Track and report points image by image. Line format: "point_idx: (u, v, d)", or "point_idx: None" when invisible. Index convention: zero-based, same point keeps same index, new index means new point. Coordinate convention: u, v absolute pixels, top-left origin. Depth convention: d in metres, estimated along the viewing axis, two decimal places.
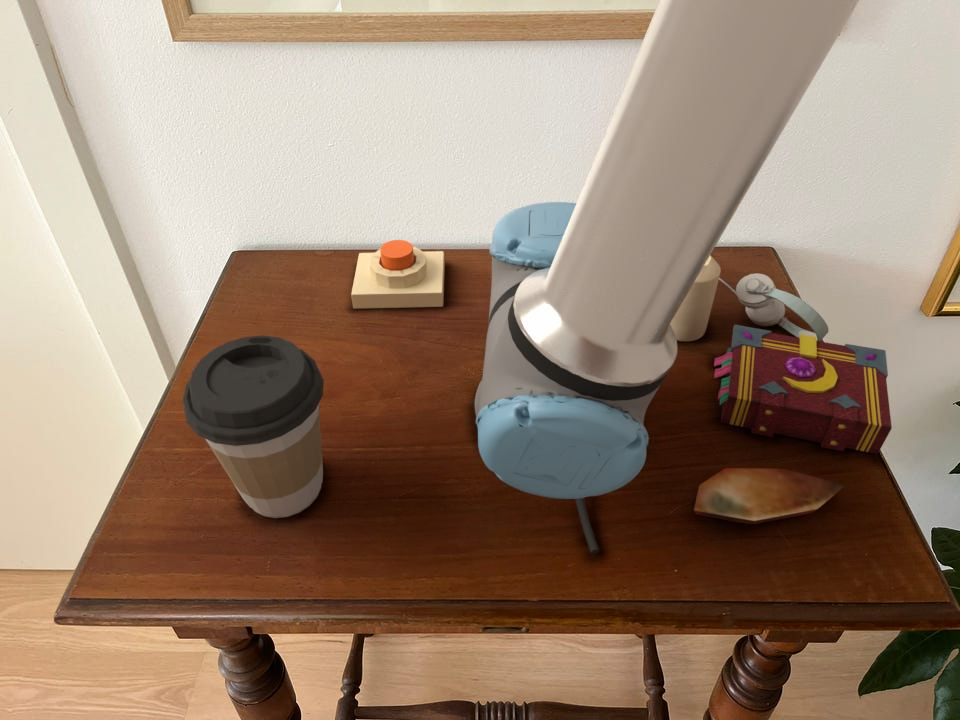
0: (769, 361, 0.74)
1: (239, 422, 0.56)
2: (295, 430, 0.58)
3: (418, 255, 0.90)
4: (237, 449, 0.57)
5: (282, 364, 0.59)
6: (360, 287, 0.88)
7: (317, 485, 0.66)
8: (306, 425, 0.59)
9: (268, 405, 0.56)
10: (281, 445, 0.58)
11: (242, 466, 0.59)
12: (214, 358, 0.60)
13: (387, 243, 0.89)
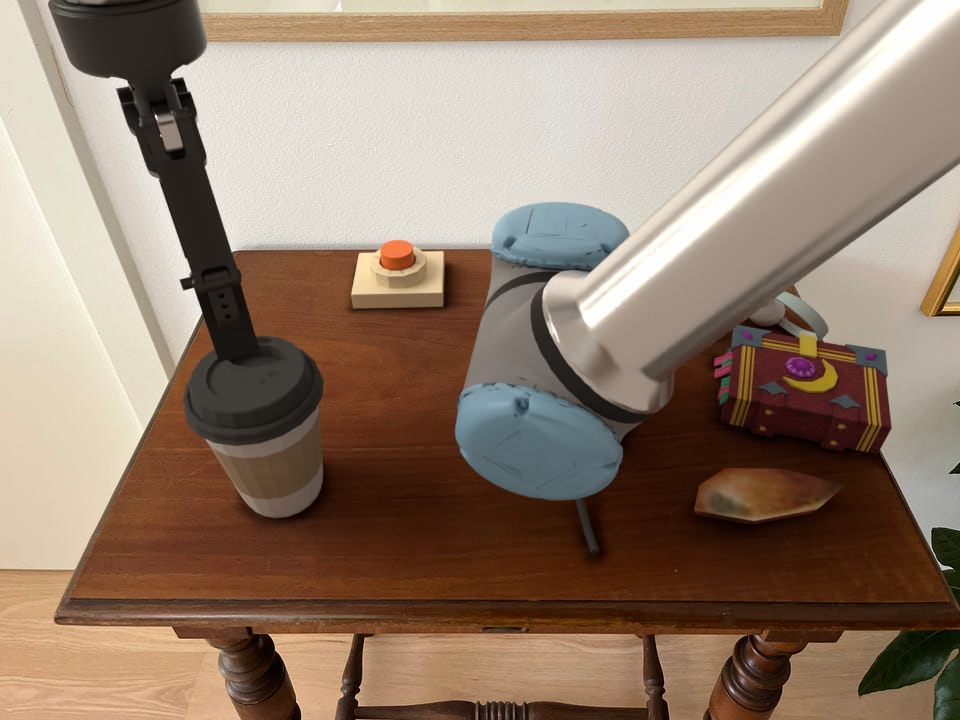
0: (769, 361, 0.74)
1: (239, 422, 0.56)
2: (295, 430, 0.58)
3: (418, 255, 0.90)
4: (237, 449, 0.57)
5: (282, 364, 0.59)
6: (360, 287, 0.88)
7: (317, 485, 0.66)
8: (306, 425, 0.59)
9: (268, 405, 0.56)
10: (281, 445, 0.58)
11: (242, 466, 0.59)
12: (214, 358, 0.60)
13: (387, 243, 0.89)
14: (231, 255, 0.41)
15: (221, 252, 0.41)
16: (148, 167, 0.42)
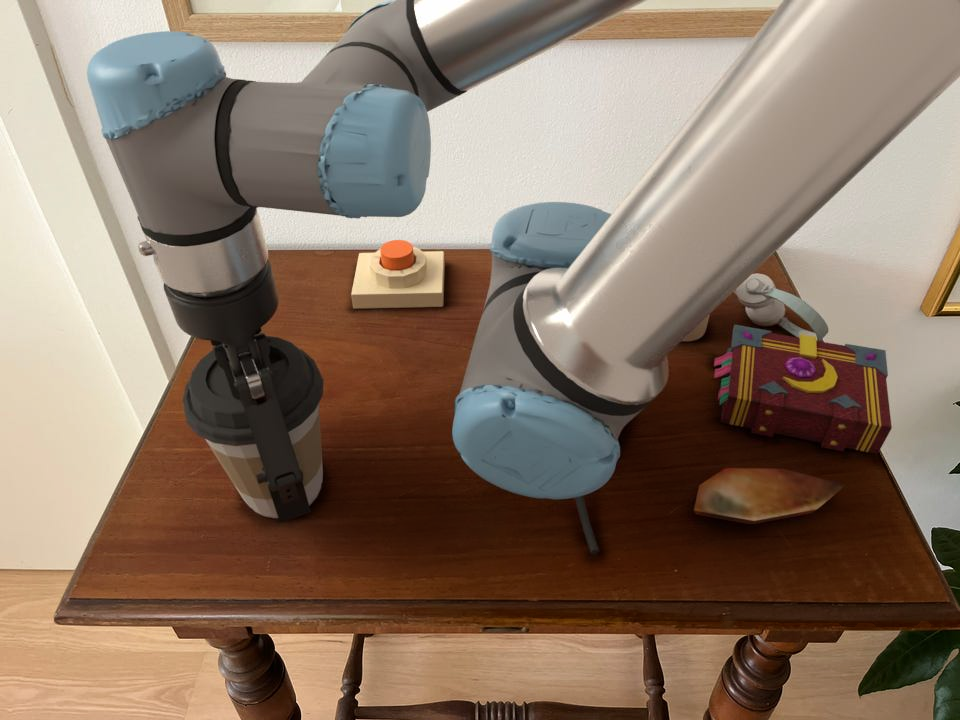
0: (769, 361, 0.74)
1: (239, 422, 0.56)
2: (294, 430, 0.58)
3: (418, 255, 0.90)
4: (237, 449, 0.57)
5: (282, 364, 0.59)
6: (360, 287, 0.88)
7: (317, 485, 0.66)
8: (306, 425, 0.59)
9: None
10: None
11: (242, 467, 0.59)
12: (214, 358, 0.60)
13: (387, 243, 0.89)
14: (297, 464, 0.55)
15: (289, 462, 0.55)
16: (234, 396, 0.55)
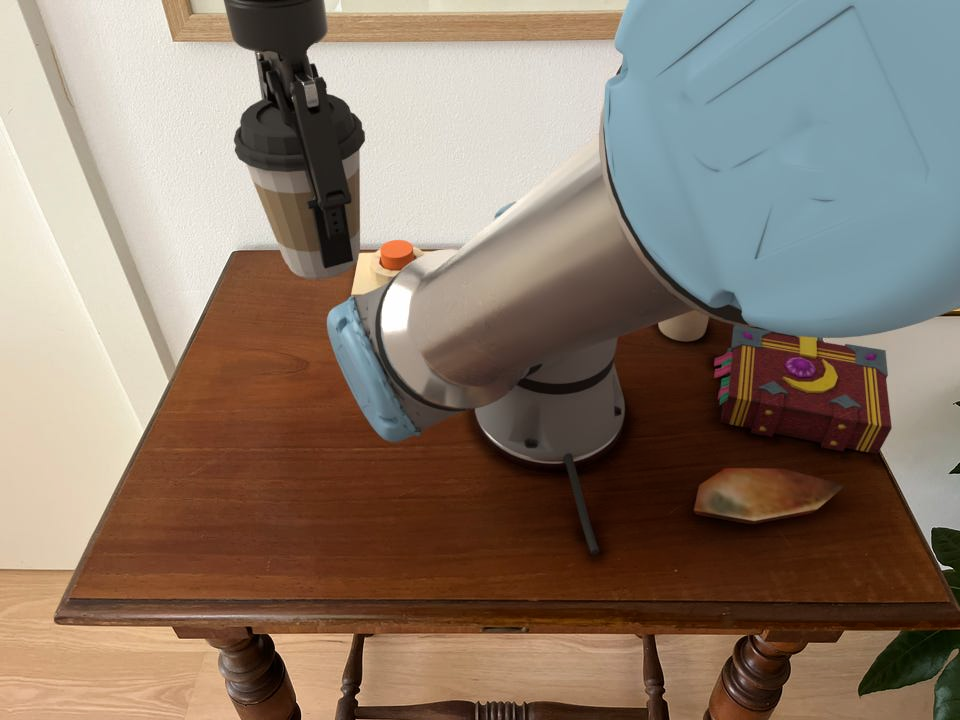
0: (769, 361, 0.74)
1: (290, 148, 0.59)
2: None
3: (418, 255, 0.90)
4: (286, 181, 0.61)
5: None
6: (360, 287, 0.88)
7: (356, 249, 0.70)
8: (350, 167, 0.63)
9: None
10: None
11: (290, 206, 0.63)
12: (262, 105, 0.63)
13: (387, 243, 0.89)
14: (346, 183, 0.58)
15: (339, 180, 0.58)
16: (286, 119, 0.58)
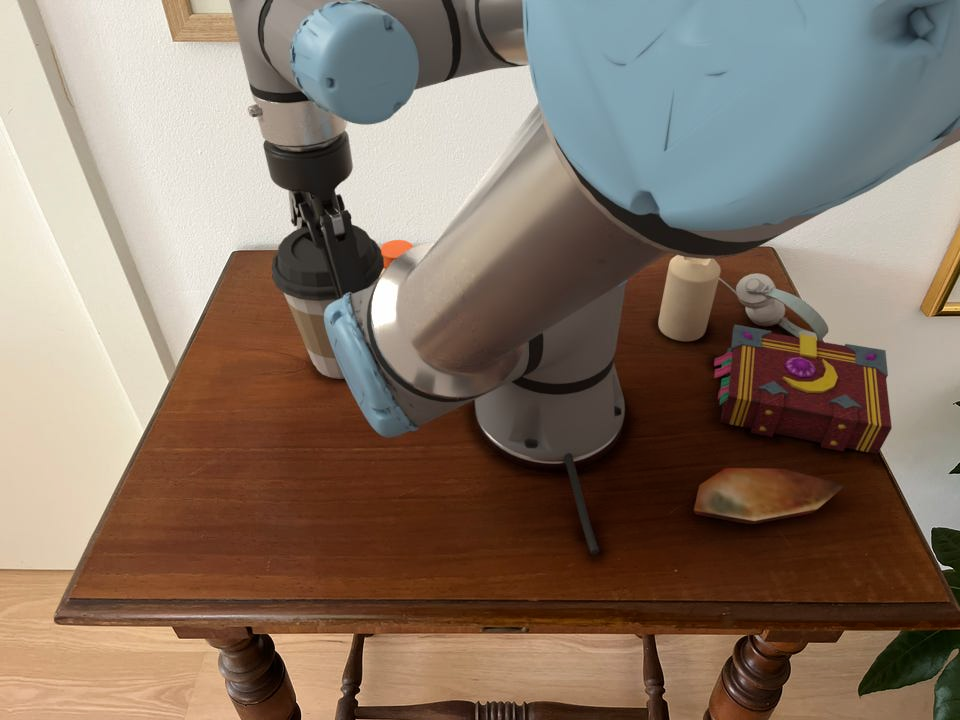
0: (769, 361, 0.74)
1: (320, 281, 0.69)
2: None
3: None
4: (317, 306, 0.71)
5: None
6: None
7: None
8: None
9: None
10: None
11: (319, 324, 0.73)
12: (296, 237, 0.73)
13: (387, 243, 0.89)
14: None
15: None
16: (316, 243, 0.67)
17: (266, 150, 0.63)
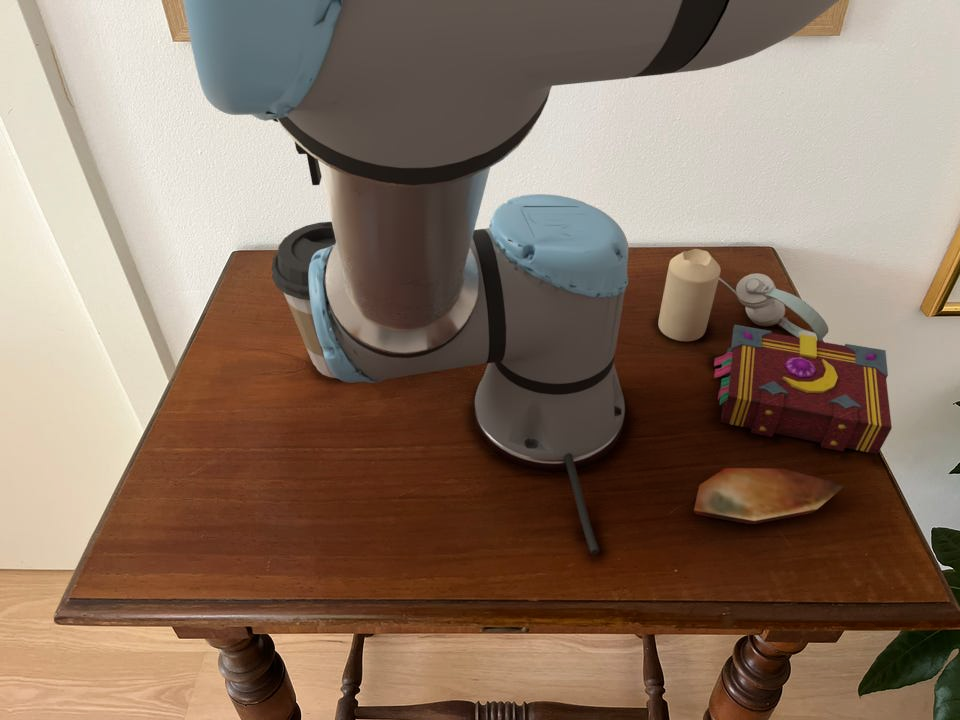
0: (769, 361, 0.74)
1: None
2: None
3: None
4: None
5: None
6: None
7: None
8: None
9: None
10: None
11: None
12: (296, 237, 0.73)
13: None
14: None
15: None
16: None
17: None
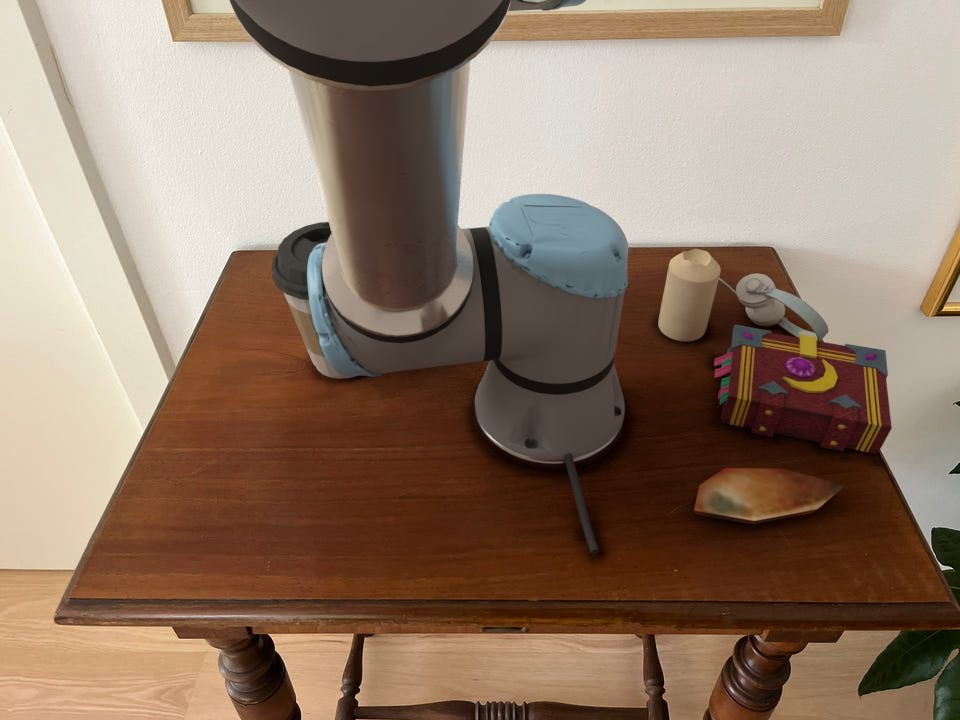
0: (769, 361, 0.74)
1: None
2: None
3: None
4: None
5: None
6: None
7: None
8: None
9: None
10: None
11: None
12: (296, 237, 0.73)
13: None
14: None
15: None
16: None
17: None
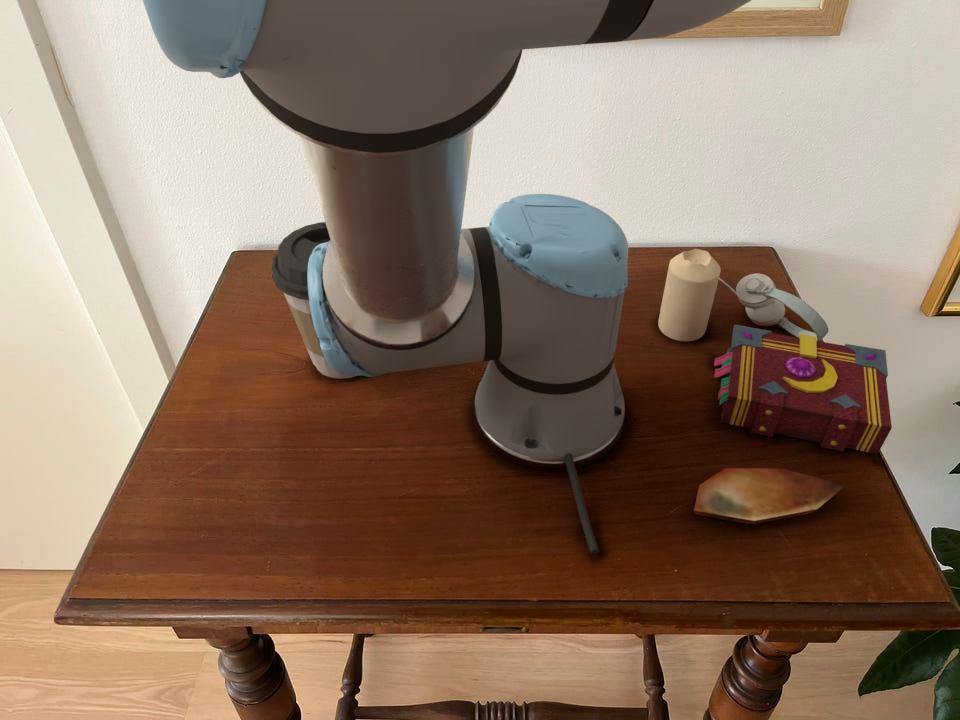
0: (769, 361, 0.74)
1: None
2: None
3: None
4: None
5: None
6: None
7: None
8: None
9: None
10: None
11: None
12: (296, 237, 0.73)
13: None
14: None
15: None
16: None
17: None
